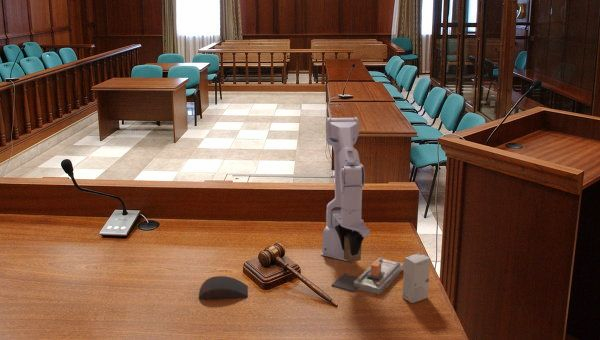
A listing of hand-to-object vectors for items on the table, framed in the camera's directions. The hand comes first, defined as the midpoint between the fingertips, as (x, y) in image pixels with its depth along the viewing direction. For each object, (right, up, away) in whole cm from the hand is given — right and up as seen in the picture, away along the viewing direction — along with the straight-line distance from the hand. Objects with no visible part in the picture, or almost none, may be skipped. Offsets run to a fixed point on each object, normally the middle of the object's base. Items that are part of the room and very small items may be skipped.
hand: (350, 251), depth 175 cm
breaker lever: (+8, -7, +3) cm, 11 cm away
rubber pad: (0, -9, +3) cm, 10 cm away
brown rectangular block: (+1, -2, +1) cm, 3 cm away
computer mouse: (-36, -12, -2) cm, 38 cm away
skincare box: (+18, -12, -5) cm, 22 cm away
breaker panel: (+9, -9, +6) cm, 14 cm away
